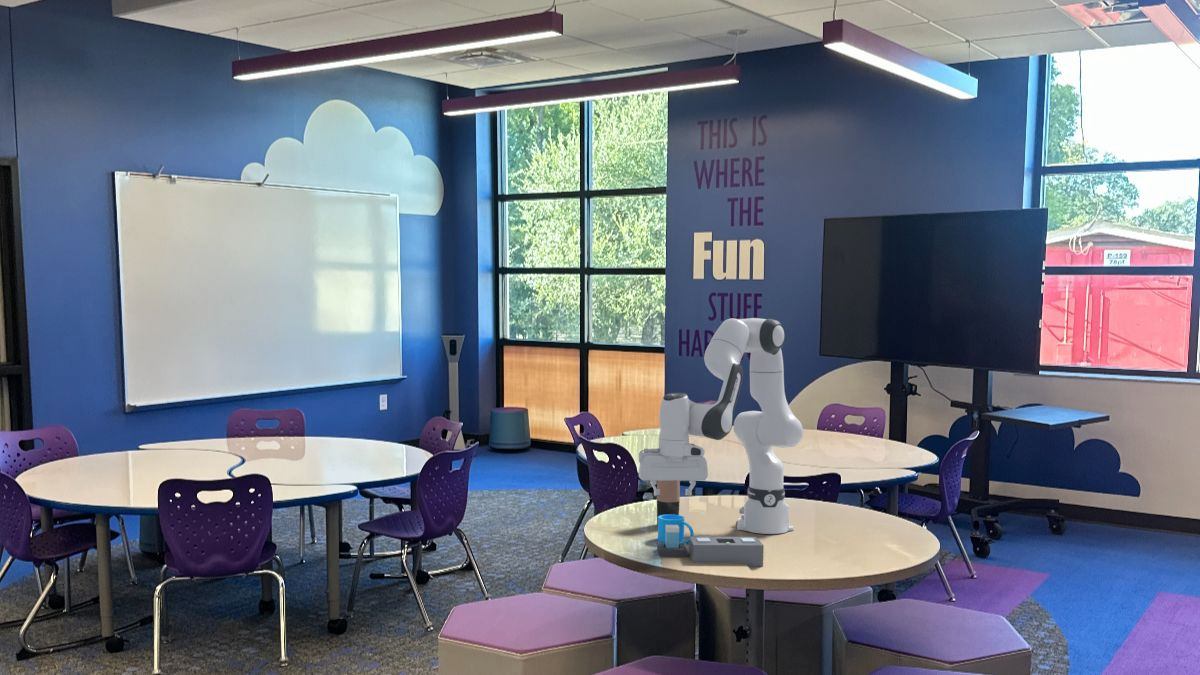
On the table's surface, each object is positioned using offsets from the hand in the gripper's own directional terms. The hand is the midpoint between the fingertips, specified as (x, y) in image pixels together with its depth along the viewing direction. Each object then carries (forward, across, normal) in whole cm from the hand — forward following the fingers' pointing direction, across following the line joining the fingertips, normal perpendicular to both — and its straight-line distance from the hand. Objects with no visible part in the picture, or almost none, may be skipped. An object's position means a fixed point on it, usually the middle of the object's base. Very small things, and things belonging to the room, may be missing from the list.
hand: (672, 495), depth 284 cm
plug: (+17, 0, 0) cm, 17 cm away
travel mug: (+18, +7, +40) cm, 44 cm away
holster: (+18, 0, 0) cm, 18 cm away
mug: (+18, +5, +15) cm, 24 cm away
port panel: (+18, +15, -6) cm, 24 cm away
